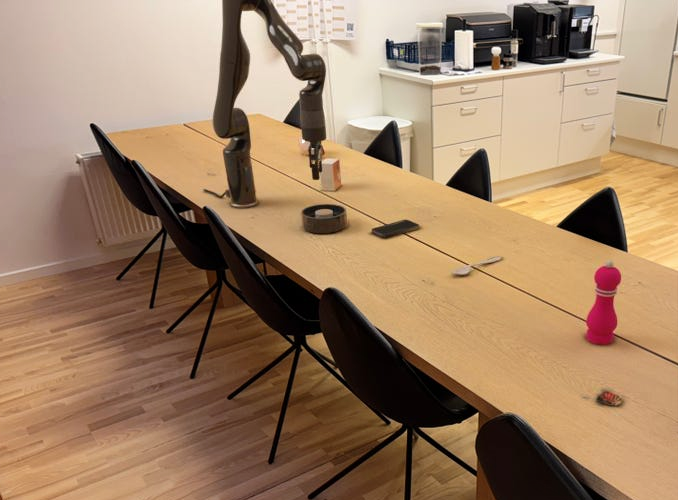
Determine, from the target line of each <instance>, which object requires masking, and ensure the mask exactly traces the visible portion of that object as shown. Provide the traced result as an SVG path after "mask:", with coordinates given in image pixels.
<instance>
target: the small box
mask: <svg viewBox="0 0 678 500" xmlns="http://www.w3.org/2000/svg"><path fill="white" fill-rule="evenodd" d="M340 163H341V162H340V159H339V158H330V157H329V158H325V159H323V160H322V172H319V177H320V178H319V180H320V188H321V191H329V192H336V190H338V188H340V187H342V175H341V164H340Z"/></svg>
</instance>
